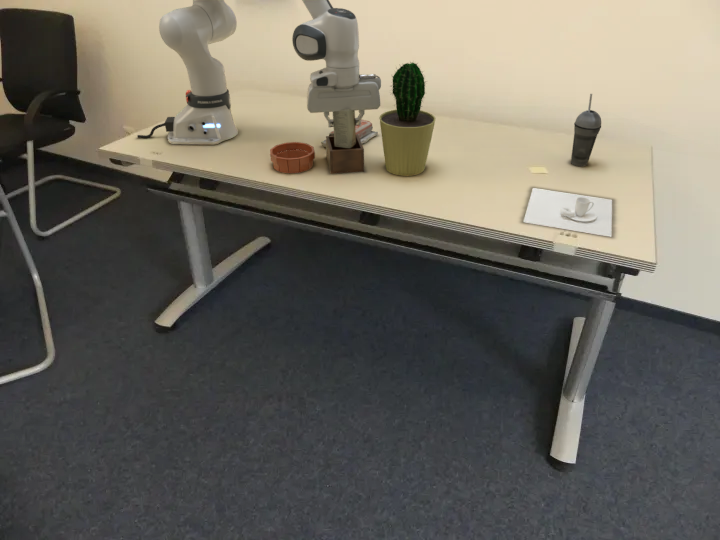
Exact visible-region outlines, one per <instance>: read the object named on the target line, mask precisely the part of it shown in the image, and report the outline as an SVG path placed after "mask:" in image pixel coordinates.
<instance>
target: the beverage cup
mask: <svg viewBox="0 0 720 540" xmlns="http://www.w3.org/2000/svg"><path fill="white" fill-rule="evenodd" d="M592 99H593V93H590V94H589V101H588V109H587V110H584V111H582V112H580V113H579V115H578V116H577V117H576V119H575V121H574V124H573V125H574V126H573V127H574V129H573V130H574V131H573V132H574V133H573V142H572V149H571V155H570V156H571V157H570V158H571V159H570V164H571V165H573V166H575V167H586V166H587V165H588V163H589V161H590V158H591V154H592V152H593V149H594V146H595V143H596V140H597V138H598V135H599V133H600V131H601V128H602V118H601V116H600V114H599V113H598V112H597V111H596V110H593V109H591V107H592Z"/></svg>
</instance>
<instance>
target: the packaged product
mask: <svg viewBox="0 0 720 540" xmlns="http://www.w3.org/2000/svg"><path fill="white" fill-rule="evenodd" d="M355 132H356V134H358V136H359V138H360V141H361V143H362V145H364V144H366V143H368V141H369V140H370V139H372V138H373V137H376V136H378V135H379V132H378V131H376V130H375V131H374V130H373V123H372V122H371V120H366V119H363V118H362V119H361V125H359V126H355ZM328 136H334V130H332V131H330V132H329V133H328ZM320 143H321V147H324V148H326V139H324V140H322V141H321V142H320Z"/></svg>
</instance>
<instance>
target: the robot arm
mask: <svg viewBox="0 0 720 540" xmlns="http://www.w3.org/2000/svg"><path fill="white" fill-rule="evenodd" d="M301 2H302V3H303V4H304V6H305V7H306V10H307V12H308V13H309V15H310V16H311V18H312V19H311V20H308V21H305V22H302V23H300V24H299V25H297V26H296V27H295V28H294V30H293V32H292V38H291V39H292V40H291V41H292V47H293V50H294V51H295V53H296V55H297V56H298V57H299V58H300V59H302V60H304V61H308V62H311V61H312V62H313V61H319V60H323V61H325V67H323V68H321V69H318V70H315V71H313V72H311V73H310V75H309V80H310V81H309V82H310V83H309V85H308V87H307V91H306V109H307V111H308V112H309V113H310V114H319V113H323V116H324V118H325V119H326V121H327V126H328V128H334V121H333V118H330V117H329V116H330V113H333V112H337V111H340V110H343V109H351V111H355V112H356V111H358V113H359V114H358V116H357V117H355V126H359V125H361V119H362V120H363V118H364V116H365V111H368V110H378V109H379V108H380V107H381V94H380V90H381V88H382V79H381V77H380V76H378V75H376V74H375V73H372V74H371V73H370V74H365V73H363V74H360V60H359V49H360V33H359V31H360V30H359V23H358V19H357V16H356V14H355V13H354V12H352V11H351V10H349V9H346V8H343V7H342V8H341V7H334V6H333V4H332V3H331V2H330V0H301ZM237 27H238V26H237V17H236V14H235V12H234V10H233V9H232V8H231V6H230V5H228V4H227V2H226V1H225V0H192V5H190V6H185V7H180V8H175V9H173V10H171V11H169V12H167V13H166V14H163V15H162V16H161V17H160V20H159V25H158V31H159V35H160V38H161V39H162V41H163V43H164V44H165V45H167V47H168V48H169V49H171V50H173V51H174V52H176V54H177V55H178V56H179V57H180V58H181V61H182V62H183V64H184V66H185V69H186V71H187V77H188V80H189V81H188V82H189V86H190V89H187V90H186V91H185V101H186V104H185V106H184V107H183V108H182V109H181V110H180V111H178V113H177V114H176V115H174V116H167V117H166V119H165V121H164V122H163V123H160V124H157V125H155V126H153V128H151V130H150V132H149V134H146V135H145V134H143V135H142V134H137V138H139V139H148V138H152V136H153V135H154V132H156V130H158V129H159V128H162V127H164V128H165V131H166V132H167V141H168V143H170V144H171V145H206V146H207V145H209V146H210V145H213V146H215V145H218V144H221V143H223V142H225V141H227V140H230V139H233V138H235V137H236V136H238V134H239V130H238V128H237V126H236V123H235V121H234V120H235V119H234V117H233V113H232V109H231V108H232V101H231V94H230V91H229V88H228V86H227V80H226V79H227V77H226V71H225V66H224V64H223V63H222V62H221V61H220V60H218V59H217V58H215V57H213V56H212V55H211V53H210V50H209V49H210V48H209V45H211V44H215V43H220V42H223V41H224V40H226V39H228V38H230V37H231V36H233V35H234V34H235V32H236V31H237Z"/></svg>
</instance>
